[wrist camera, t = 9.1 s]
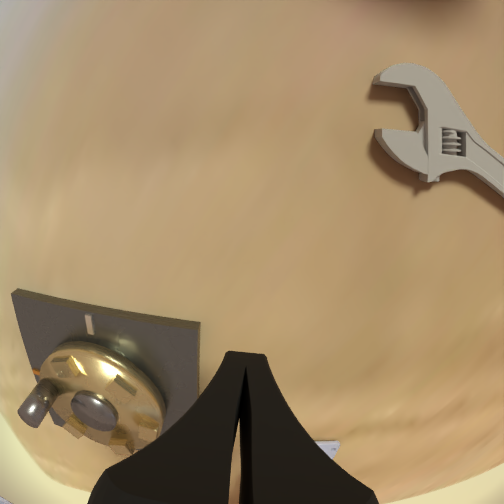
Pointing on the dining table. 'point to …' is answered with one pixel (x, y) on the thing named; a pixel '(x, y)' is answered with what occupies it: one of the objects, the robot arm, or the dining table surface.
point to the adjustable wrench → (437, 131)
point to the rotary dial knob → (97, 397)
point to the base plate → (116, 343)
